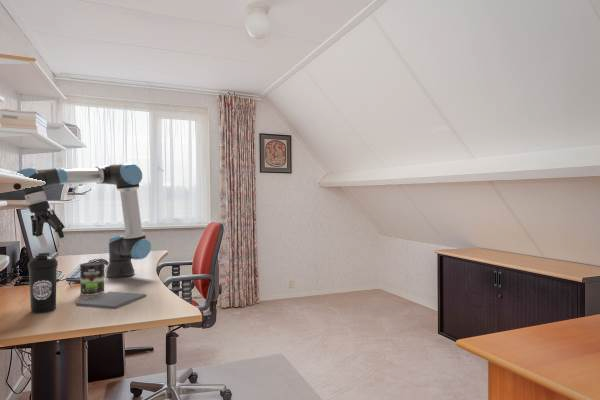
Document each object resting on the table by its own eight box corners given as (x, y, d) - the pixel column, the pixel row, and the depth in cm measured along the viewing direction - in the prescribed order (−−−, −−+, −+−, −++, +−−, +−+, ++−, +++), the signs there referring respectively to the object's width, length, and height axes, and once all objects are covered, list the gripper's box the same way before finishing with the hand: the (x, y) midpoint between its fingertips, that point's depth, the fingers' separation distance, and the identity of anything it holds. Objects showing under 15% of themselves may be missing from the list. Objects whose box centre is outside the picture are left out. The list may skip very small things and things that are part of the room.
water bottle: (26, 315, 151) (25, 256, 151) (30, 308, 160) (29, 253, 160) (57, 311, 156) (56, 254, 156) (59, 305, 165) (58, 251, 165)
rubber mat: (109, 293, 184) (109, 291, 184) (146, 296, 179) (146, 293, 179) (75, 305, 165) (75, 302, 165) (115, 308, 160) (115, 306, 160)
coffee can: (104, 294, 183) (103, 264, 183) (79, 296, 179) (78, 266, 179) (105, 289, 193) (105, 261, 192) (81, 291, 188) (81, 262, 188)
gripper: (13, 209, 175) (30, 253, 178) (46, 199, 164) (63, 246, 167) (30, 205, 182) (46, 247, 185) (62, 195, 171) (79, 240, 174)
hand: (54, 247), depth 176 cm, fingers open, 13 cm apart
